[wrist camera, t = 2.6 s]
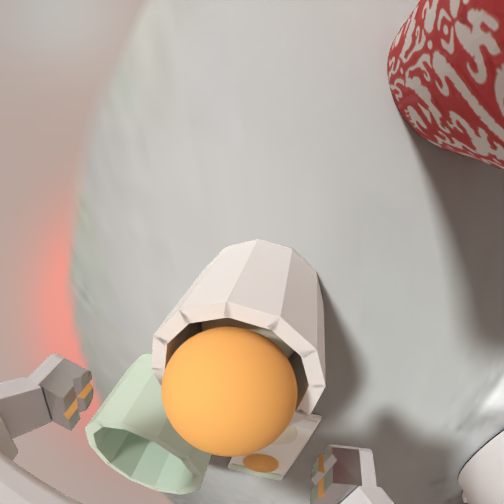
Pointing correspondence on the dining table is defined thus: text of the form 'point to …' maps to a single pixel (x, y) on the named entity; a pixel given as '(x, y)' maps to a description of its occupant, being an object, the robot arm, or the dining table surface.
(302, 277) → the tube grey
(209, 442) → the ball orange
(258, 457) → the card
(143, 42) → the dining table surface
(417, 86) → the mug
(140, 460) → the tube green
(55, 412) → the robot arm
